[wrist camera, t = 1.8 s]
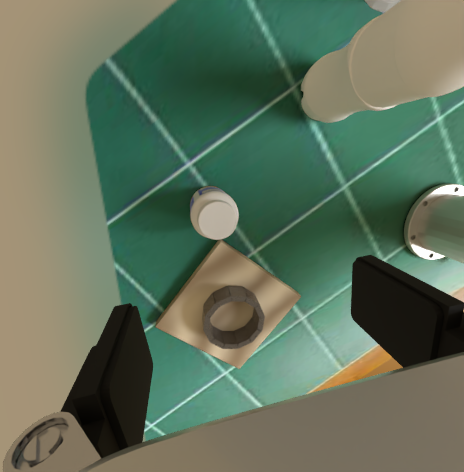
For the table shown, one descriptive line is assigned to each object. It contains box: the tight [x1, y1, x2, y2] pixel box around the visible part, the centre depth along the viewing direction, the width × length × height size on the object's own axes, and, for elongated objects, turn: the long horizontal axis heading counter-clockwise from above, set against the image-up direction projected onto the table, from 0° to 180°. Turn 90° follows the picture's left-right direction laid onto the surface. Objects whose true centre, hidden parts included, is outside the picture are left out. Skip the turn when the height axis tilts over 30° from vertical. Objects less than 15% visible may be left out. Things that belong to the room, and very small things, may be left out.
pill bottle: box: [190, 186, 239, 240], centre depth 30 cm, size 5×5×10 cm
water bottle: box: [301, 0, 464, 123], centre depth 21 cm, size 7×7×25 cm
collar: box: [202, 286, 265, 349], centre depth 36 cm, size 9×9×3 cm
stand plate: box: [156, 240, 301, 369], centre depth 39 cm, size 16×16×2 cm
